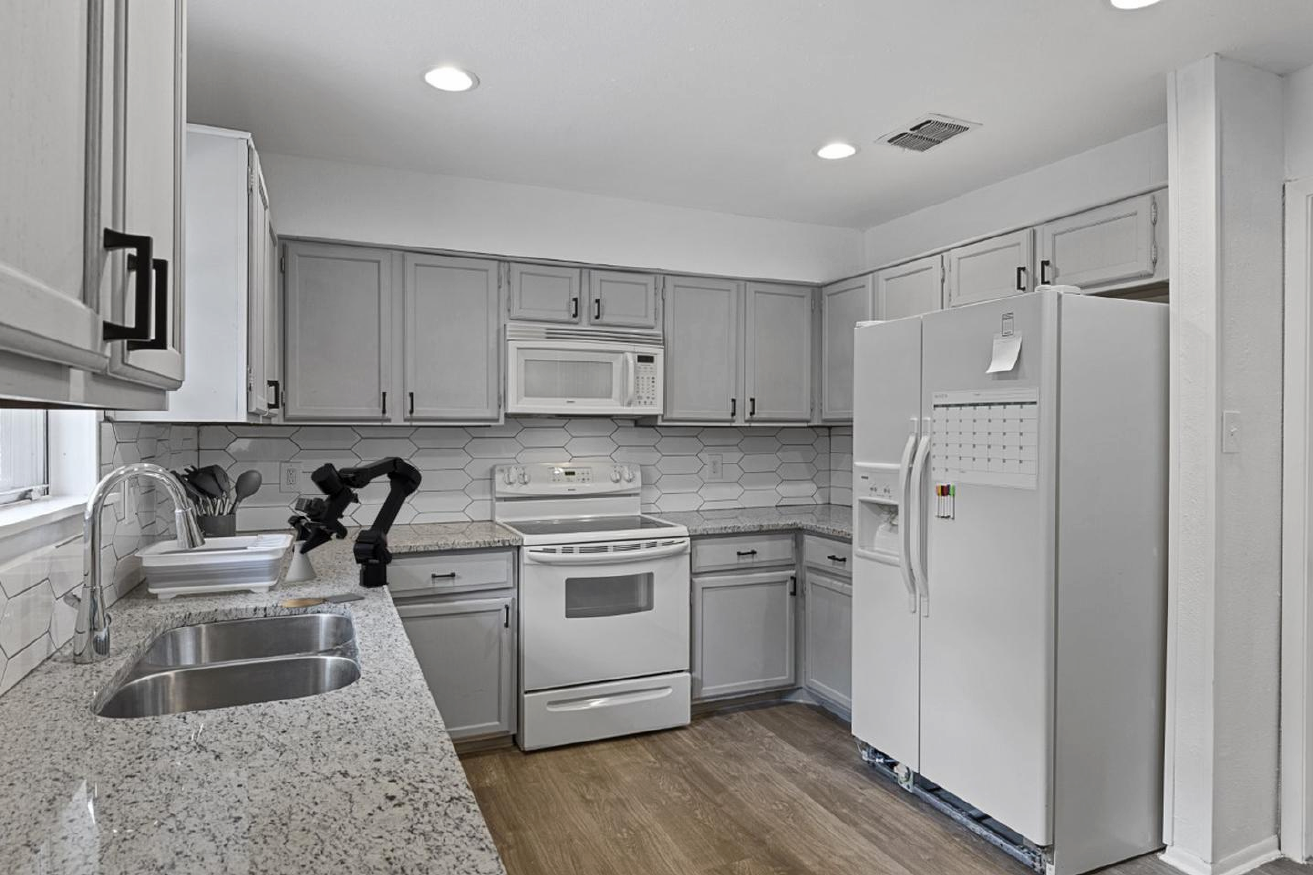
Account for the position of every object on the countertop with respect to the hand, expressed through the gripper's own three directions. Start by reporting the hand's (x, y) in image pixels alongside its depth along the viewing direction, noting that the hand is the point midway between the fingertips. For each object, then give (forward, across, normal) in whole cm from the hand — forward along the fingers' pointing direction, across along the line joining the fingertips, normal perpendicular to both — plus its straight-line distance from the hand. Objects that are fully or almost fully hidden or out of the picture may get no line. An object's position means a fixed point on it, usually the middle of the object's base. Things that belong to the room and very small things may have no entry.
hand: (297, 552), depth 201 cm
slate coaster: (+2, +5, +16) cm, 17 cm away
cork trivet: (+8, 0, +10) cm, 13 cm away
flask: (+4, 0, +6) cm, 8 cm away
